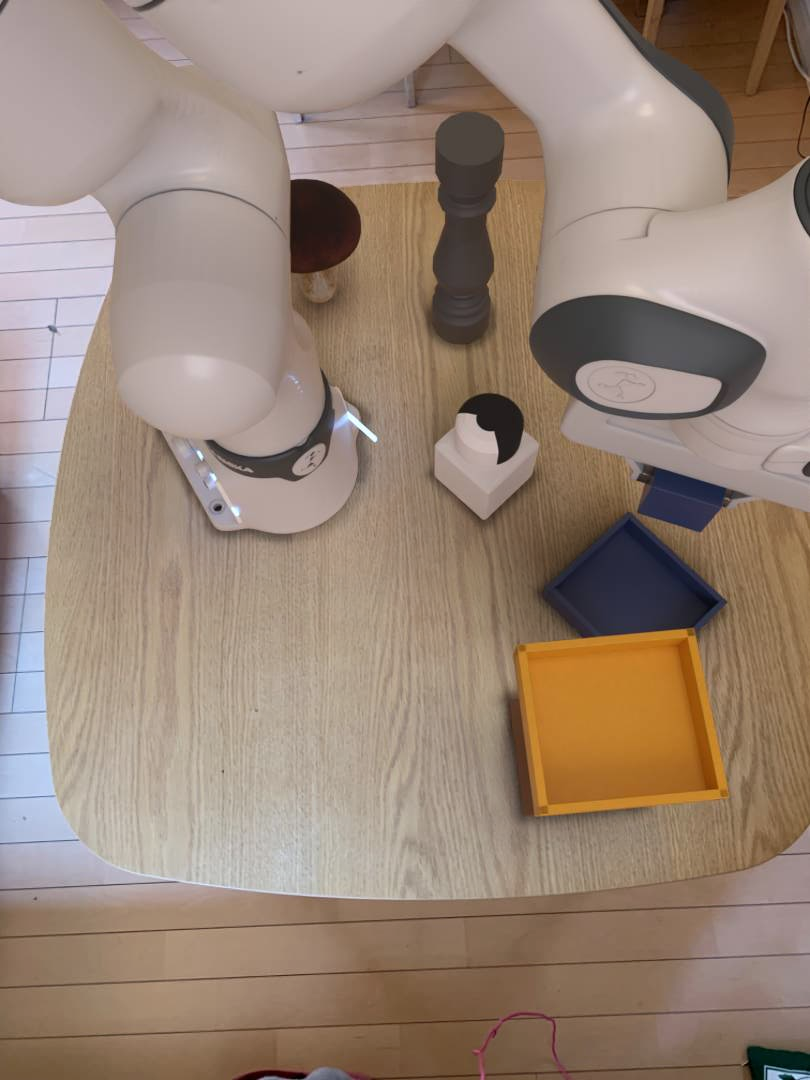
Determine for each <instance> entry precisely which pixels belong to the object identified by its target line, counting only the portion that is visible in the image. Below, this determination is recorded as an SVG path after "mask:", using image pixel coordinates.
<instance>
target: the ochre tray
mask: <svg viewBox="0 0 810 1080" xmlns="http://www.w3.org/2000/svg"><path fill="white" fill-rule="evenodd" d="M697 640H698V639H697V635H696V634H695V630H694V628H688V629H677V630H667V631H656V632H645V633H634V634H623V635H613V636H602V637H591V638H584V637H582V638H581V637H580V638H571V639H561V640H550V641H549V640H547V641H537V642H528V643H517V644H516V646H515V649H514V652H513V654H512V657H513V664H514V671H515V678H516V686H517V687H516V688H517V693H518V699H510V700H509V701H508V709H509V715H510V716H509V717H510V723H511V731H512V738H513V740H512V741H513V748H514V755H515V762H516V770H517V777H518V785H519V794H520V801H521V809H522V816H523V817H531V816H534V818H539V817H549V816H550V817H551V816H559V815H571V814H583V813H593V812H604V811H615V810H624V809H636V808H646V807H647V808H648V807H656V806H657V807H658V806H659V807H660V806H668V805H679V804H690V803H700V802H701V803H702V802H712V801H713V802H714V801H719V800H725V799H730V793H729V787H728V783H727V777H726V774H725V768H724V764H723V759H722V755H721V750H720V744H719V740H718V735H717V730H716V726H715V721H714V716H713V712H712V707H711V703H710V697H709V693H708V692H709V691H708V687H707V683H706V677H705V673H704V669H703V663H702V659H701V655H700V649H699V645H698V641H697Z"/></svg>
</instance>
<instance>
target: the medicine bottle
mask: <svg viewBox="0 0 810 1080" xmlns="http://www.w3.org/2000/svg"><path fill="white" fill-rule="evenodd" d="M524 428H525V420H524V415H523V412H522V411H521V408H520V407H519V406H518V404H517V403H516V402H515V401H513V400H512V398H509V397H508V396H505V395H502V394H500V393H495V392H484V393H483V392H482V393H478V394H475V395H474V396H472V397H469V398H467V400H465V401H464V402H463V403H462V404H461V406H460V407H459V409H458V411H457V414H456V417H455V425H454V426H453V427H452V428H450V429H449V431H447V432H446V433H445V434H444V435H443V436H441V438H440V439H438V440H437V441H436V442H435V444H434V470H433V471H434V477H435V478H436V479H437V480H438V481H439V482H440V483H441V484H443V485H444V486H445V487H446V488H447V490H449V491H450V492H451V493H452V494H453V495H454V496H456V497H457V498H458V499H459V500H460V501H461V502H462V503H463V504H465V505H466V506H467V507H468V509H470V510H471V511H472V512H474V513H475V514H476V516H478V517H479V518H480V519H481V520H485V521H486V520H487V519H488V518H490V516H491V515H492V514H493V513H494V512H495V511H497V509H499V508H500V507H501V506H502V505H503V504H504V503H505V502H506V501H507V500H508V499H510V497H511V496H512V495H514V493H515V492H516V491H518V490H519V489H520V487H522V486H523V485H524V484H525V483H526V482H527V481H528V480H529V479H530V478H531V477H532V476H533V472H534V469H535V464H536V462H537V457H538V453H539V450H540V442H539V441H537V440H536V439H535V438H534V437H533V436H531V435H530V434H529V433H528V432H527V431H526V430H525V429H524Z"/></svg>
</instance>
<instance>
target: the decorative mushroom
mask: <svg viewBox="0 0 810 1080" xmlns="http://www.w3.org/2000/svg"><path fill="white" fill-rule="evenodd" d="M361 235H362V218H361V214H360V212H359V209H358V207H357V205H356V204H355V203H354V202H353V201H352V199H351V198H350V197H349V196H348V195H347V194H346V193H345V192H343V191H342V190H341V189H340V188H338V186H335V185H334V184H332V183H329V182H327V181H323V180H319V179H314V178H294V179H291V190H290V252H291V274H296V277H297V283H298V287H299V289H300V291H301V293H302V294H303V296H304V297H305V298H306V299H307V300H309V301H310V302H313V303H317V304H318V303H319V304H323V303H326V302H328V301H329V300H331V299H332V298H333V297H334V296H335V293H336V291H337V288H338V276H337V275H338V274H337V271H336V266H339V264H342V263H343V262H344V261H346V260H348V258H350V257H351V256H352V254H353V253H354V252H355V251H356V249H357V248H358V246H359V244H360V240H361Z"/></svg>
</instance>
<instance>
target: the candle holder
mask: <svg viewBox="0 0 810 1080" xmlns="http://www.w3.org/2000/svg"><path fill="white" fill-rule="evenodd" d="M434 139H435V140H434V142H435V143H434V174H435V175H436V177H437V180H438V181H439V186H438V187H437V203H438V205H439V206H440V208H441V211H442V212H443V213H444V225H443V227H442V230H441V233H440V236H439V239H438V242H437V243H436V247H435V250H434V252H433V255H432V273H433V275H434V277H435V280H436V281H437V282H436V285H435V286H434V293H433V295H432V296H431V297H432V301H431V304H432V305H431V325H432V328H433V329H434V332H435V334H436V335H437V336H438V337H439V338H440V339H442V340H443V341H445V342H448V343H450V344H453V345H468V344H471V343H473V342H477V341H478V340H480V338H481V337H483V336H484V335H485V334H486V332H487V329H488V328H489V324H490V314H491V295H490V288H489V286H488V284H489V282H490V280H491V278H492V276H493V274H494V272H495V253H494V251H493V247H492V244H491V239H490V235H489V231H488V227H487V222H488V214H489V213H490V212H492V209H493V208H494V205H495V204H496V202H497V187H496V184H497V183H498V181H499V179H500V177H501V175H502V172H503V162H504V152H505V144H506V143H505V131H504V129H503V128H502V126H501V124H500V123H499V122H498V121H497V120H496V119H495V118H493V117H492V116H490V115H489V114H488V115H487V114H485V113H482V112H479V111H461V112H459V113H456V114H452V115H449V117H448V118H446V119H444V120H443V121H442V122H440V124H439V126H438V127H437V130H436V131H435V137H434Z"/></svg>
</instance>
